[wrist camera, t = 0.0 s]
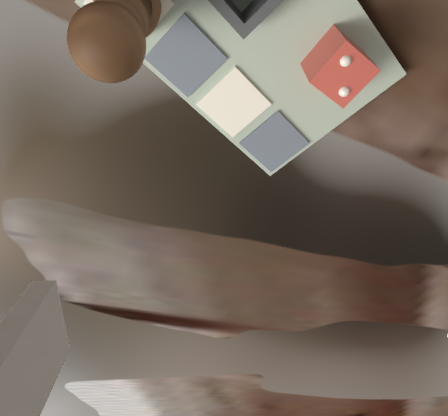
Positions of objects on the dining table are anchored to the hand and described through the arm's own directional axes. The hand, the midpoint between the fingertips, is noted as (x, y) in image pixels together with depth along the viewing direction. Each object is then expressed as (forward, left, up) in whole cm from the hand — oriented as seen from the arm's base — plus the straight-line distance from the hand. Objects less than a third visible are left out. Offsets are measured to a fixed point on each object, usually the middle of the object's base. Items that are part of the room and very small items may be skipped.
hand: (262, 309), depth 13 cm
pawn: (+4, -7, -26) cm, 28 cm away
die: (-5, +8, -27) cm, 28 cm away
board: (-1, +2, -28) cm, 28 cm away
